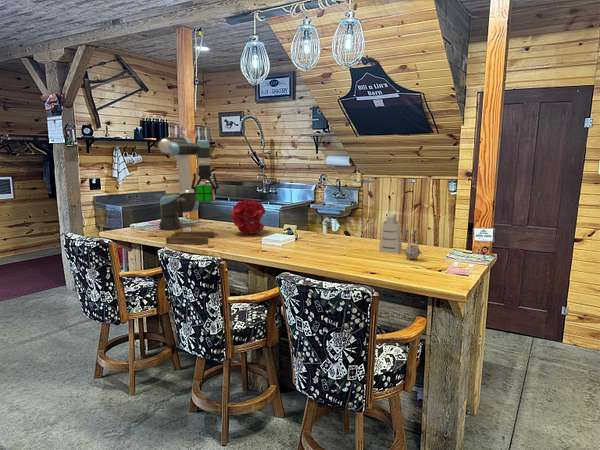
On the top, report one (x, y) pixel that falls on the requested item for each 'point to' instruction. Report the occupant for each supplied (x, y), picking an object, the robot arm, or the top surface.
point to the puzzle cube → (204, 192)
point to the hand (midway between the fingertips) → (205, 199)
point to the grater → (390, 235)
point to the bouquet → (248, 216)
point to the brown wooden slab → (189, 238)
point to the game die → (412, 251)
